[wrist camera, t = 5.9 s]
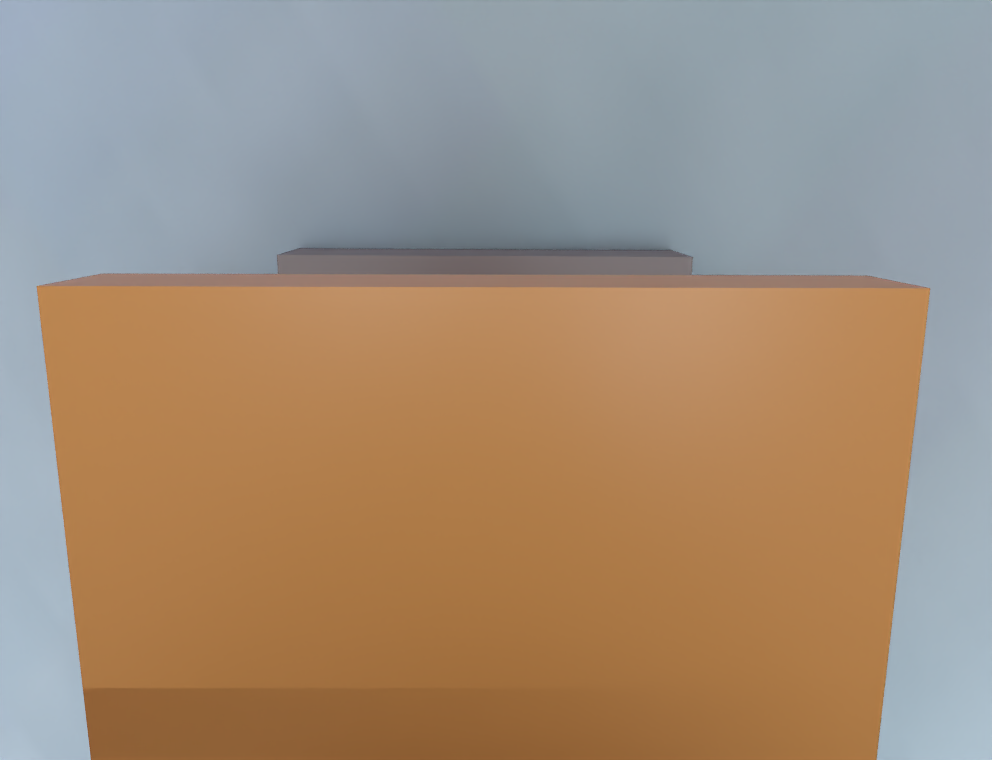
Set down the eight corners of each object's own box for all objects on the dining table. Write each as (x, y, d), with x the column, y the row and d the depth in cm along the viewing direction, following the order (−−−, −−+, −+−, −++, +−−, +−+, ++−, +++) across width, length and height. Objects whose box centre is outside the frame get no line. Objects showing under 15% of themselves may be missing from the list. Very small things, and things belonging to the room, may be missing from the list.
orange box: (324, 231, 12) (35, 285, 5) (656, 232, 12) (929, 289, 5) (346, 784, 14) (171, 1471, 7) (632, 784, 14) (795, 1469, 7)
